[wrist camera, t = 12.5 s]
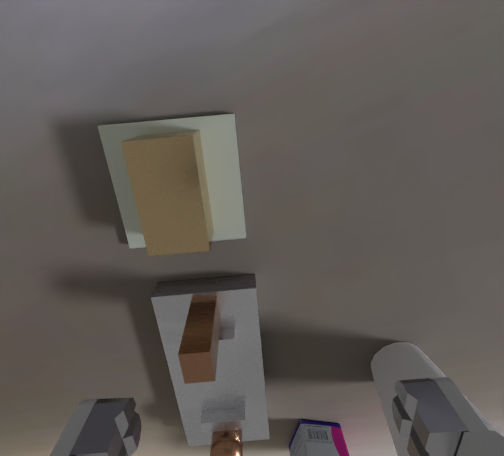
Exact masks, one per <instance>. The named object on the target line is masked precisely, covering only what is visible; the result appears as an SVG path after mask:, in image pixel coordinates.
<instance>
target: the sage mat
mask: <svg viewBox="0 0 504 456" xmlns="http://www.w3.org/2000/svg"><path fill="white" fill-rule="evenodd" d="M97 127H98V130H99V134H100V138H101V142H102V145H103V149H104V153H105V157H106V160H107V164H108V168H109V172H110V176H111V179H112V183H113V187H114V191H115V194H116V198H117V202H118V206H119V209H120V213H121V217H122V221H123V225H124V228H125V232H126V236H127V240H128V243H129V247H130V248H140V247H146V244H145V240H144V236H143V232H142V228H141V224H140V220H139V216H138V211H137V207H136V203H135V199H134V195H133V191H132V187H131V182H130V178H129V174H128V170H127V166H126V162H125V158H124V153H123V149H122V145H121V141H124V140H127V139H130V138H133V137H136V136H140V135H151V134H162V133H173V132H184V131H196V130H200V137H201V144H202V151H203V158H204V165H205V172H206V179H207V186H208V193H209V200H210V207H211V214H212V221H213V228H214V233H213V238H212V241H219V240H230V239H241V238H246V228H245V218H244V208H243V197H242V187H241V177H240V167H239V157H238V146H237V136H236V126H235V116H234V113H233V114H222V115H211V116H199V117H188V118H177V119H166V120H154V121H143V122H132V123H121V124H109V125H100V126H97Z"/></svg>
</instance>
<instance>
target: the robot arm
mask: <svg viewBox="0 0 504 456" xmlns="http://www.w3.org/2000/svg"><path fill="white" fill-rule="evenodd" d="M395 391H396V393H397V396H395V397H394V398H393V401H392V411H393V417H394V420H395V424H396V426H397V428H398V431H399V433H400V434H401V435H402V436H403V437H405V438H406V439H407V440H408V446H407V451H408V453H409V455H410V456H504V437H503V436H502V435H500V434H499V433H497V432H496V431H489V430H488V429H487V427H486V426H485V424H484V423H483V422H482V420H481V419H480V418H479V416H478V415H477V413H476V412H475V411H474V409H473V408H472V407H471V405H470V404H469V403H468V401H467V400H466V398H465V397H464V396H463V394H462V393H461V392H460V390H459V389H458V387H457V386H456V385H455V383H454V382H453V381H452V380H451V379H450V378H448V377H443V378H431V379H430V378H422V379H410V380H398V381H397V382H396V384H395ZM135 406H136V403H135V401H134V398H109V399H87V400H82V401H81V402H80V403H79V404H78V405H77V407H76V409H75V411H74V412H73V414H72V416H71V418H70V420H69V422H68V423H67V425H66V427H65V429H64V431H63V433H62V434H61V436H60V438H59V440H58V442H57V444H56V445H55V447H54V449H53V451H52V453H51V455H50V456H131V455H132V454H133V453H134V452H135V451H136V450H137V447H138V444H139V440H140V435H141V419H140V416H139V414H138V413H136V412H135V411H134V409H135Z"/></svg>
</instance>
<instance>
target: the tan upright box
mask: <svg viewBox="0 0 504 456" xmlns="http://www.w3.org/2000/svg"><path fill="white" fill-rule="evenodd" d="M121 145H122V149H123V153H124V158H125V162H126V166H127V170H128V174H129V178H130V182H131V187H132V191H133V195H134V199H135V203H136V207H137V211H138V216H139V220H140V224H141V228H142V232H143V236H144V240H145V244H146V249H147V253H148V256H157V255H168V254H179V253H190V252H202V251H210V248H211V243H212V238H213V233H214V228H213V221H212V214H211V207H210V200H209V193H208V186H207V179H206V172H205V165H204V158H203V151H202V144H201V137H200V130H196V131H184V132H173V133H162V134H151V135H140V136H136V137H133V138H130V139H127V140H124V141H121Z"/></svg>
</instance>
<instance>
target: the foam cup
mask: <svg viewBox="0 0 504 456" xmlns="http://www.w3.org/2000/svg"><path fill="white" fill-rule="evenodd" d="M371 371H372V374H373V378H374V381H375V385H376V388H377V391H378V394H379V397H380V400H381V404H382V407H383V410H384V413H385V416H386V419H387V422H388V426H389V429H390V432H391V435H392V438H393V441H394V444H395V448H396V451H397V454H398V456H410V455H409V453H408V451H407V446H408V440H407V439H406V438H405V437H403V436H402V435H401V434H400V433H399V431H398V428H397V426H396V424H395V420H394V417H393V411H392V401H393V398H394V397H395V396H397V393H396V391H395V384H396V382H397V381H398V380H410V379H422V378H430V379H431V378H443V377H446V376H445V375H444V374H443V373H442V372H441V370H440V369H439V368H438V367H437V366H436V365H435V364H434V363H433V362H432V361H431V360H430V359H429V358H428V357H427V356H426V355H425V354H424V353H423V352H422V351H421V350H420V349H419V348H418V347H417V346H416V345H413V344H411V343H408V342H398V343H393V344H390V345H387V346H385V347H383V348H382V349H381V350H379V351H378V352H377V353H376V354H375V355H374V357H373V359H372V361H371ZM460 392H461V391H460ZM461 393H462V392H461ZM463 396H464V395H463ZM464 397H465V396H464ZM465 398H466V397H465ZM466 400H467V401H468V403H469V404H470V405H471V407H472V408H473V409H474V411H475V412H476V413H477V415H478V416H479V418H480V419H481V420H482V422H483V423H484V424H485V426H486V427H487V429H488V430H489V431H496V432H497V433H499V434H500V435H502V436H503V437H504V434H503V433H502V432H501V430H500V429H499V428H497V427H494V426H493V425H492V424H491V423H490V422H489V421H488V420H487V419H486V418H485V417H484V416H483V414H482V413H481V412H480V411H479V410H478V409H477V408H476V407H475V406H474V405H473V404H472V403H471V402H470V401H469V400H468V399H467V398H466Z"/></svg>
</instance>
